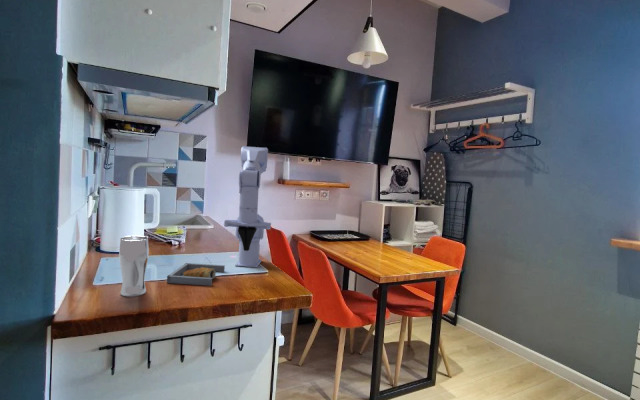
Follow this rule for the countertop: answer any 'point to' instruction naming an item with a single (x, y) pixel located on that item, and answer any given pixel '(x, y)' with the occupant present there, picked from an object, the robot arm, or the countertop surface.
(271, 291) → the countertop surface
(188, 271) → the pastry
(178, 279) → the tray slot
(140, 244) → the beer glass
